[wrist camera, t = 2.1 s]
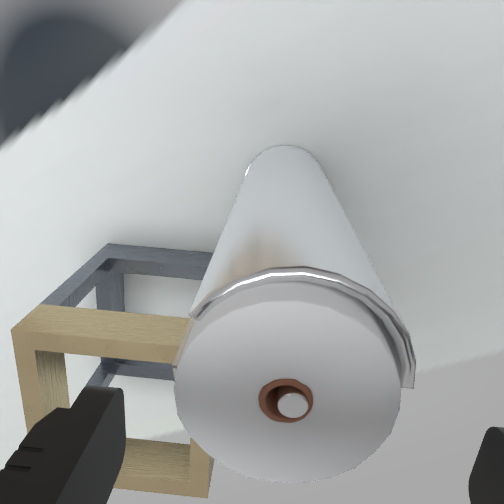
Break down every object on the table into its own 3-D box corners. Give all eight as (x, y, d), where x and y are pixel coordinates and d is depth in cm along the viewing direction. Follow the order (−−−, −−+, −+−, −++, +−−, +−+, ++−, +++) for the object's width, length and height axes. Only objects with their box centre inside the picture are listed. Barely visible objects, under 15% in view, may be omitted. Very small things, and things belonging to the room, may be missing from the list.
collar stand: (238, 255, 36) (214, 349, 23) (231, 365, 40) (207, 498, 27) (107, 243, 36) (10, 329, 23) (114, 353, 40) (34, 479, 27)
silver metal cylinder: (279, 240, 35) (276, 535, 12) (227, 182, 34) (106, 388, 10) (341, 190, 33) (485, 424, 10) (289, 127, 32) (315, 226, 8)
